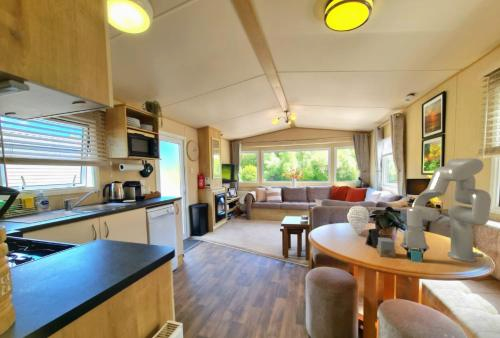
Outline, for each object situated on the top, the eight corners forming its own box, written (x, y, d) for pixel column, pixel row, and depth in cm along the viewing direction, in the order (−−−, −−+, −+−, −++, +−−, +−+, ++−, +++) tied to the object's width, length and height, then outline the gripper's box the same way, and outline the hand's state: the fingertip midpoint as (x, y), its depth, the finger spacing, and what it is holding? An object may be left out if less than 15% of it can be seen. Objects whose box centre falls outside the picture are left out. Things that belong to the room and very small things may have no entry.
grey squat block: (390, 246, 136) (390, 238, 136) (394, 250, 129) (394, 242, 129) (378, 245, 138) (378, 237, 138) (381, 249, 131) (381, 241, 131)
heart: (369, 241, 159) (368, 211, 158) (346, 237, 166) (346, 209, 166) (369, 230, 183) (369, 205, 182) (349, 228, 191) (349, 203, 190)
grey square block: (390, 253, 137) (390, 245, 137) (395, 258, 129) (395, 250, 129) (376, 252, 139) (376, 244, 139) (380, 257, 131) (380, 249, 131)
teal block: (417, 258, 128) (417, 248, 128) (421, 262, 123) (421, 252, 123) (408, 257, 129) (408, 248, 129) (411, 261, 124) (411, 251, 124)
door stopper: (382, 247, 146) (382, 230, 145) (375, 248, 144) (375, 231, 144) (372, 243, 154) (372, 226, 154) (365, 244, 153) (365, 227, 153)
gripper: (428, 227, 127) (428, 257, 127) (395, 225, 132) (396, 254, 132) (435, 231, 120) (435, 263, 120) (400, 229, 125) (400, 259, 125)
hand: (414, 258), depth 126 cm, fingers closed on teal block, 5 cm apart
